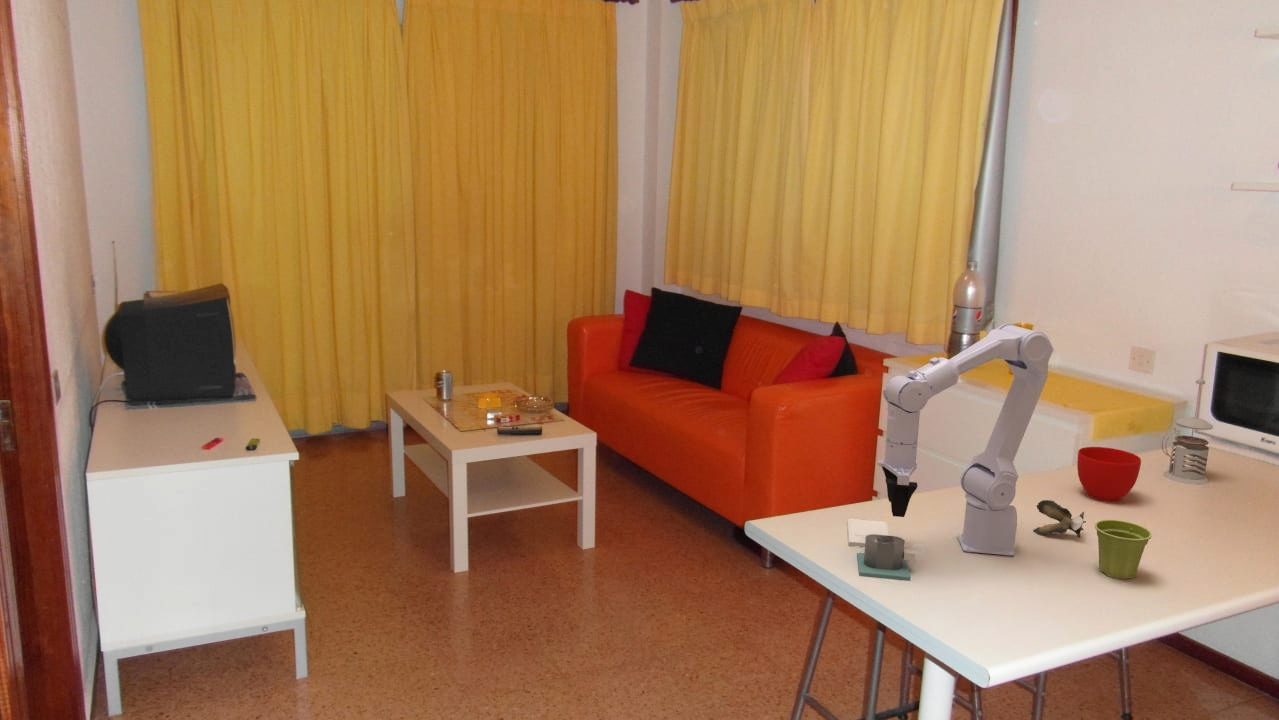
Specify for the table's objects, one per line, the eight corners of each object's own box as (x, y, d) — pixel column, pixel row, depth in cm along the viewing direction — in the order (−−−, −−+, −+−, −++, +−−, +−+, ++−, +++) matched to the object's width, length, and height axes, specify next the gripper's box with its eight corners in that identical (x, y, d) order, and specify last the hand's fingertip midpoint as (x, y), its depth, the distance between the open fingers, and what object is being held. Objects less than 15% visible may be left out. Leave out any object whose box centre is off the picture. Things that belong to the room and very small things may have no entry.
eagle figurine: (1077, 522, 193) (1032, 509, 195) (1089, 503, 188) (1043, 490, 190) (1075, 552, 188) (1030, 538, 190) (1088, 533, 183) (1041, 519, 185)
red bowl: (1139, 489, 218) (1145, 449, 216) (1132, 511, 204) (1138, 467, 202) (1079, 478, 225) (1084, 439, 222) (1069, 498, 211) (1074, 456, 208)
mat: (905, 560, 175) (905, 557, 175) (910, 580, 166) (910, 577, 166) (856, 555, 177) (857, 552, 176) (859, 575, 168) (859, 572, 168)
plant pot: (1143, 588, 165) (1150, 543, 164) (1086, 575, 170) (1092, 531, 168) (1147, 570, 173) (1153, 526, 171) (1092, 558, 178) (1097, 515, 176)
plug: (864, 567, 170) (866, 541, 169) (863, 558, 174) (865, 533, 173) (914, 572, 168) (917, 546, 167) (912, 563, 172) (914, 538, 171)
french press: (1217, 484, 223) (1234, 384, 217) (1169, 483, 223) (1184, 382, 218) (1194, 471, 232) (1209, 374, 227) (1148, 470, 232) (1162, 373, 227)
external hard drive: (887, 529, 192) (891, 552, 180) (846, 525, 193) (848, 548, 181) (887, 521, 191) (891, 544, 179) (847, 518, 193) (848, 540, 181)
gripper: (876, 428, 181) (871, 494, 183) (883, 450, 167) (877, 521, 169) (913, 430, 179) (908, 496, 182) (923, 452, 165) (917, 524, 168)
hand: (896, 508), depth 176 cm, fingers open, 7 cm apart
